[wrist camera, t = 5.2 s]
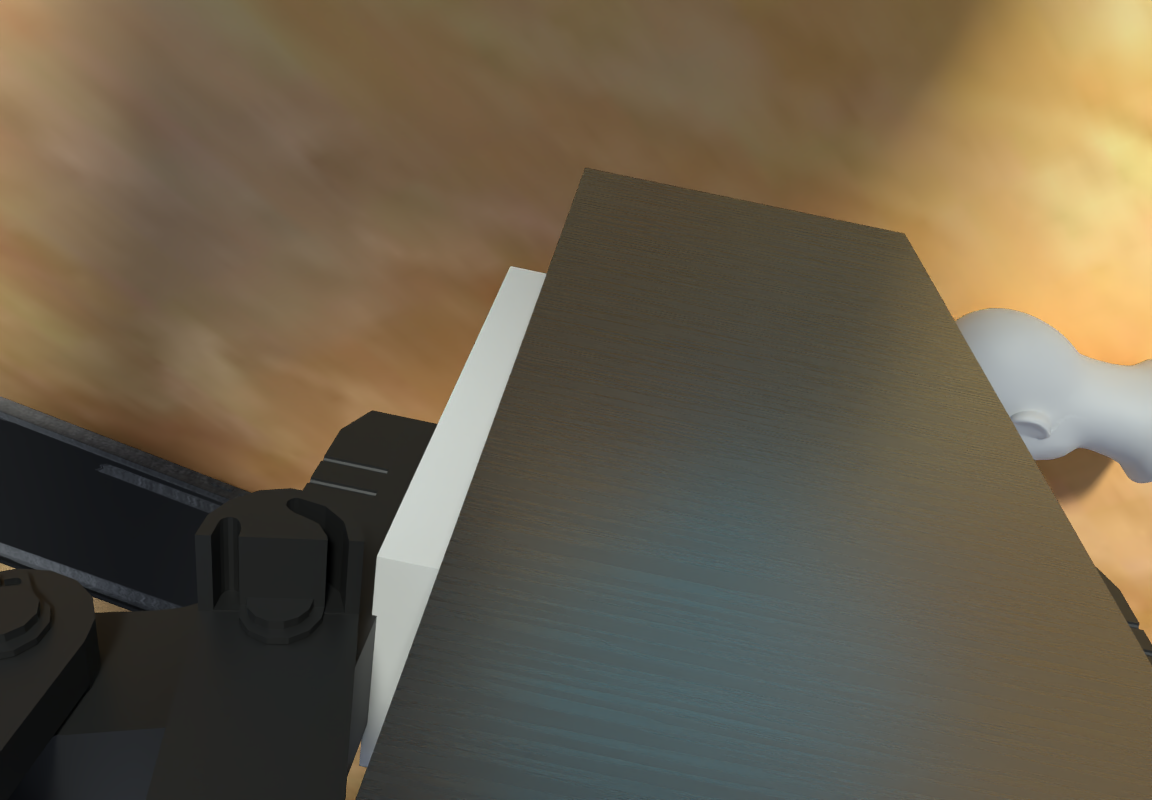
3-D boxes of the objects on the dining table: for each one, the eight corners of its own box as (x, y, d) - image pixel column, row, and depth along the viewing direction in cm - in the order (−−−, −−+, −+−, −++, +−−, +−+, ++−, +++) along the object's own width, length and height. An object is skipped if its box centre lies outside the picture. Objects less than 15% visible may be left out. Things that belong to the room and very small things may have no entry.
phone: (290, 669, 40) (-58, 542, 38) (300, 650, 41) (-39, 525, 39) (336, 538, 36) (-50, 390, 34) (345, 520, 37) (-29, 376, 35)
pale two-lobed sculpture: (884, 364, 32) (974, 255, 28) (1093, 448, 32) (1209, 352, 29) (883, 458, 29) (983, 350, 25) (1113, 549, 29) (1245, 456, 26)
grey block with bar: (362, 122, 14) (-505, 789, 4) (1129, 279, 14) (2297, 1388, 4) (338, 544, 19) (-107, 1392, 8) (927, 668, 19) (1221, 1683, 8)
